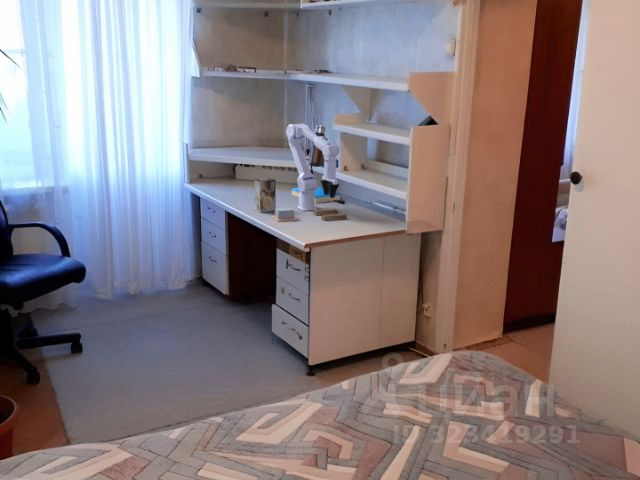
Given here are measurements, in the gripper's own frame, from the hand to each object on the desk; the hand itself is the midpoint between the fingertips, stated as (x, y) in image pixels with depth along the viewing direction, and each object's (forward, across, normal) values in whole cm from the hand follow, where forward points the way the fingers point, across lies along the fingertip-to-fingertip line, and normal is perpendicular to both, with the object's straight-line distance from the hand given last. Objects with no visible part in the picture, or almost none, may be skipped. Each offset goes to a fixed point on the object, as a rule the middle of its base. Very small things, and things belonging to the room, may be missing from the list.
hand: (329, 196), depth 331 cm
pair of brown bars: (+9, +4, -1) cm, 10 cm away
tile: (+9, +2, -24) cm, 26 cm away
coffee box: (+10, -17, -28) cm, 34 cm away
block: (+9, +2, -24) cm, 26 cm away
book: (+10, -40, +9) cm, 42 cm away
